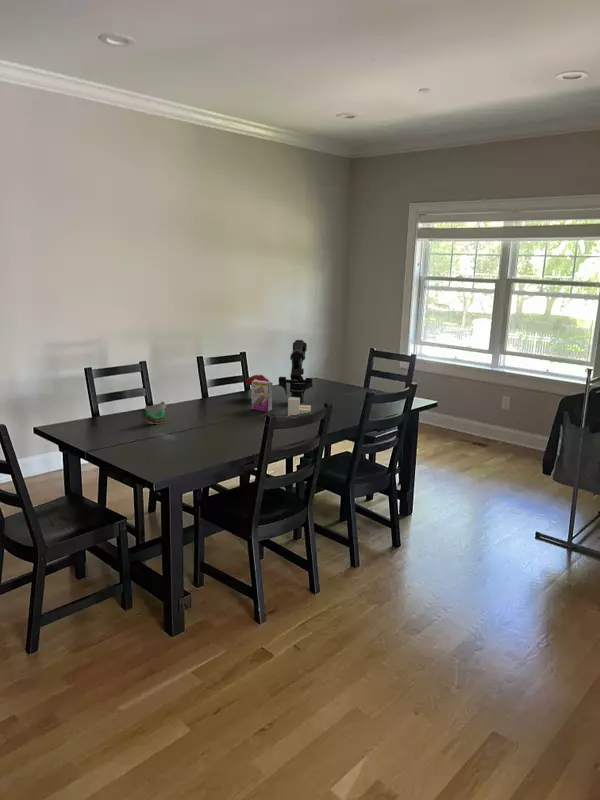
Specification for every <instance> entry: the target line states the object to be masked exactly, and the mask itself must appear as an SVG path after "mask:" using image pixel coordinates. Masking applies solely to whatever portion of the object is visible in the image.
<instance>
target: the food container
mask: <svg viewBox="0 0 600 800" xmlns="http://www.w3.org/2000/svg"><path fill="white" fill-rule="evenodd" d="M166 408H167V405H166V403H165V401H160V403H157V404H156V403H155V404H152V405H145V408H144V410H145V415H146V423H147V422H149V423H160V422H163V421H165V409H166Z"/></svg>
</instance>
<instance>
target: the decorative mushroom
mask: <svg viewBox="0 0 600 800" xmlns="http://www.w3.org/2000/svg"><path fill="white" fill-rule="evenodd" d="M254 380H260V381H266V382H271V381H270V380H269V379H268V378H267V377H265V376H264V375H263V374H255V375H252V376H251V375H250V376H249V377H247V378H246V379H245V383H246V384H247V385H249V386H251V381H254Z"/></svg>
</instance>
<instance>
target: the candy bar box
mask: <svg viewBox="0 0 600 800" xmlns="http://www.w3.org/2000/svg"><path fill="white" fill-rule="evenodd" d="M273 385H274V384H273V381H272V382H271V381H270V382H266V381H260V380H254V381H251V385H250V386H251V387H250V388H251V389H250V392H251V393H250V394H251V395H250V410H251V409H254V410H253V411H257V410H261V411H260V412H264V411H267V412H266V413H269V412H268V411H270V410H272V411H273ZM270 412H271V411H270Z"/></svg>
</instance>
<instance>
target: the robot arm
mask: <svg viewBox="0 0 600 800" xmlns="http://www.w3.org/2000/svg"><path fill="white" fill-rule="evenodd" d="M307 344H308V343H306V342H305V341H304V339H295V340H294V342H292V352H291V353H290V361H291V371H290V379H289V378H287V377H286V376H278V386H279V387H281V388H283V390H284V392H285V395H286V396H287V395H288V387H287V384H290V385H289V393H291V395H290V397H300V404H302V403H304V402H305V401H304V400H305V398H304V396H305V394H306V393H307V390H308V389H310V388H313V385H314V384H313V383H314V380H313V378H312V377H305V379H304V377H303V376H302V375H305V374H304V371H305V369H304V368H303V362H304V360H306V352H307V350H308V347H307Z"/></svg>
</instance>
